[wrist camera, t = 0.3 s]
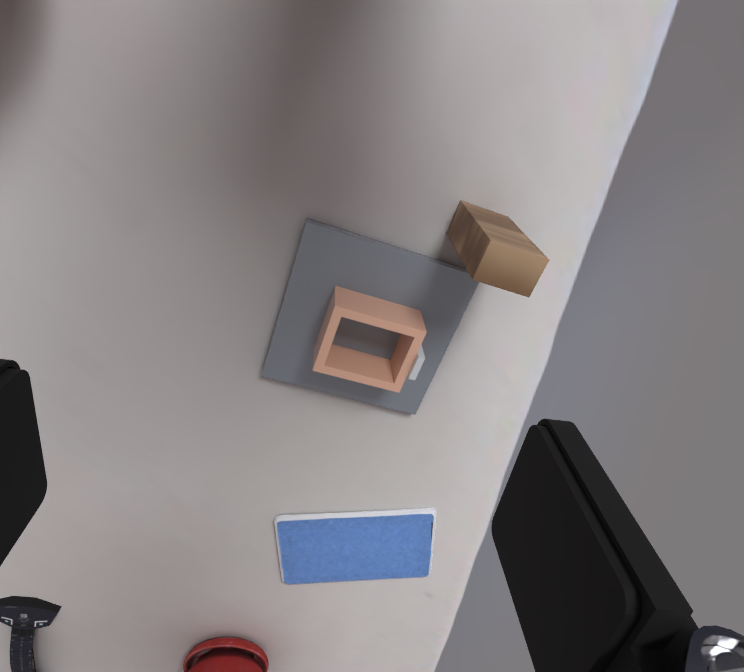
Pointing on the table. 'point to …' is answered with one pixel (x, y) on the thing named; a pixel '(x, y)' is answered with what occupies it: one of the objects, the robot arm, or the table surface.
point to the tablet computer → (355, 545)
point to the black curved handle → (25, 626)
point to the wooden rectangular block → (495, 249)
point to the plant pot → (226, 656)
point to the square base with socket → (365, 318)
